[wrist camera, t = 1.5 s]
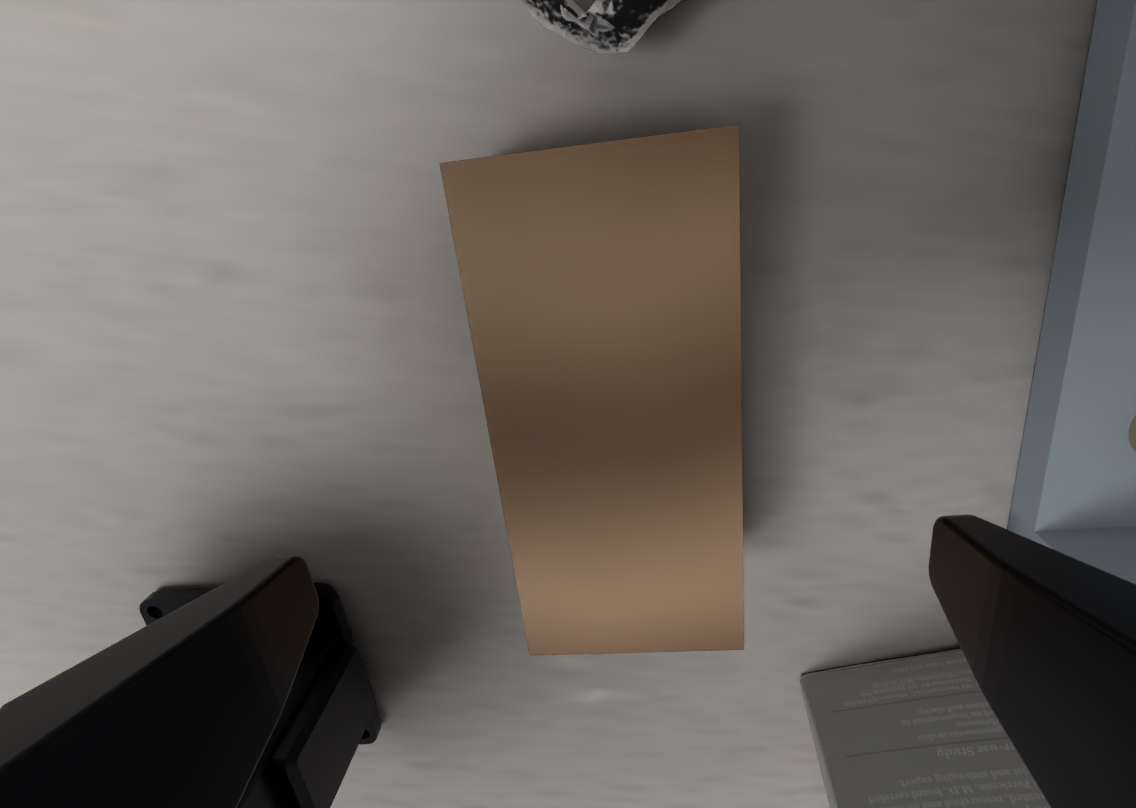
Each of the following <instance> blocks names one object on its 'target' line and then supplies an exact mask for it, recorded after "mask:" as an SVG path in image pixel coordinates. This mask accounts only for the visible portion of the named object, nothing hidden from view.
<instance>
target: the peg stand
mask: <svg viewBox="0 0 1136 808" xmlns="http://www.w3.org/2000/svg"><path fill="white" fill-rule="evenodd" d="M1007 530H1009V531H1012V532H1014V533H1016V534H1019V535H1021V536H1023V537H1026V538H1028V539H1030V540H1033V541H1035V542H1037V543H1040V544H1042V545H1045V546H1047V547H1049V548H1052V549H1054V550H1056V551H1059V552H1061V553H1063V554H1066V555H1068V556H1070V557H1073V558H1075V559H1078V560H1080V561H1082V562H1085V563H1087V564H1089V565H1092V566H1094V567H1096V568H1099V569H1101V570H1103V571H1106V572H1108V573H1111V574H1113V575H1115V576H1118V577H1120V578H1122V579H1125V580H1127V581H1129V582H1132V583H1134V584H1136V0H1098V1H1097V7H1096V13H1095V19H1094V24H1093V30H1092V36H1091V42H1090V48H1089V54H1088V60H1087V66H1086V71H1085V77H1084V83H1083V89H1082V95H1081V101H1080V107H1079V112H1078V118H1077V124H1076V130H1075V136H1074V142H1073V148H1072V154H1071V159H1070V165H1069V171H1068V177H1067V183H1066V189H1065V195H1064V200H1063V206H1062V212H1061V218H1060V224H1059V230H1058V236H1057V241H1056V247H1055V253H1054V259H1053V265H1052V271H1051V277H1050V283H1049V288H1048V294H1047V300H1046V306H1045V312H1044V318H1043V324H1042V329H1041V335H1040V341H1039V347H1038V353H1037V359H1036V365H1035V371H1034V376H1033V382H1032V388H1031V394H1030V400H1029V406H1028V412H1027V417H1026V423H1025V429H1024V435H1023V441H1022V447H1021V453H1020V458H1019V464H1018V470H1017V476H1016V482H1015V488H1014V494H1013V500H1012V505H1011V511H1010V517H1009V523H1008V529H1007Z"/></svg>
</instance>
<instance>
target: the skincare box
mask: <svg viewBox="0 0 1136 808" xmlns="http://www.w3.org/2000/svg"><path fill="white" fill-rule="evenodd" d="M800 683H801V688H802V692H803V697H804V701H805V705H806V709H807V714H808V718H809V722H810V726H811V730H812V735H813V739H814V743H815V747H816V751H817V755H818V759H819V763H820V768H821V772H822V776H823V780H824V784H825V788H826V793H827V797H828V801H829V805H830V808H1051V807H1050V806H1049V804H1048V802H1047V801H1046V799H1045V797H1044V796H1043V794H1042V792H1041V791H1040V789H1039V787H1038V786H1037V784H1036V782H1035V781H1034V779H1033V777H1032V776H1031V774H1030V772H1029V771H1028V769H1027V767H1026V766H1025V764H1024V762H1023V761H1022V759H1021V757H1020V756H1019V754H1018V752H1017V751H1016V749H1015V747H1014V746H1013V744H1012V742H1011V741H1010V739H1009V737H1008V736H1007V734H1006V732H1005V731H1004V729H1003V727H1002V726H1001V724H1000V722H999V721H998V719H997V717H996V716H995V714H994V712H993V711H992V709H991V707H990V705H989V704H988V702H987V700H986V698H985V697H984V695H983V693H982V691H981V689H980V687H979V685H978V683H977V681H976V679H975V677H974V675H973V673H972V671H971V669H970V667H969V665H968V662H967V660H966V658H965V656H964V654H963V652H962V649H956V650H950V651H944V652H938V653H932V654H926V655H920V656H913V657H907V658H900V659H893V660H886V661H879V662H874V663H868V664H859V665H854V666H848V667H842V668H836V669H830V670H826V671H820V672H815V673H810V674H805V675H803V676H802V677H801V679H800Z"/></svg>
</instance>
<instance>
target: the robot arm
mask: <svg viewBox="0 0 1136 808" xmlns="http://www.w3.org/2000/svg"><path fill="white" fill-rule="evenodd" d="M929 577H930V581H931V584H932V587H933V589H934V591H935V593H936V596H937V598H938V600H939V602H940V604H941V606H942V608H943V611H944V613H945V615H946V617H947V619H948V621H949V624H950V626H951V628H952V630H953V632H954V634H955V636H956V639H957V641H958V643H959V645H960V647H961V649H962V652H963V654H964V656H965V658H966V660H967V662H968V665H969V667H970V669H971V671H972V673H973V675H974V677H975V679H976V681H977V683H978V685H979V687H980V689H981V691H982V693H983V695H984V697H985V698H986V700H987V702H988V704H989V705H990V707H991V709H992V711H993V712H994V714H995V716H996V717H997V719H998V721H999V722H1000V724H1001V726H1002V727H1003V729H1004V731H1005V732H1006V734H1007V736H1008V737H1009V739H1010V741H1011V742H1012V744H1013V746H1014V747H1015V749H1016V751H1017V752H1018V754H1019V756H1020V757H1021V759H1022V761H1023V762H1024V764H1025V766H1026V767H1027V769H1028V771H1029V772H1030V774H1031V776H1032V777H1033V779H1034V781H1035V782H1036V784H1037V786H1038V787H1039V789H1040V791H1041V792H1042V794H1043V796H1044V797H1045V799H1046V801H1047V802H1048V804H1049V806H1050V807H1051V808H1136V584H1134V583H1132V582H1129V581H1127V580H1125V579H1122V578H1120V577H1118V576H1115V575H1113V574H1111V573H1108V572H1106V571H1103V570H1101V569H1099V568H1096V567H1094V566H1092V565H1089V564H1087V563H1085V562H1082V561H1080V560H1078V559H1075V558H1073V557H1070V556H1068V555H1066V554H1063V553H1061V552H1059V551H1056V550H1054V549H1052V548H1049V547H1047V546H1045V545H1042V544H1040V543H1037V542H1035V541H1033V540H1030V539H1028V538H1026V537H1023V536H1021V535H1019V534H1016V533H1014V532H1012V531H1009V530H1007V529H1004V528H1002V527H1000V526H997V525H995V524H993V523H990V522H988V521H986V520H983V519H981V518H978V517H976V516H973V515H953V516H941V517H939V518H938V519H937V520H936V521H935V523H934V527H933V534H932V542H931V551H930V560H929ZM319 599H320V600H322V601H323V602H320V601H319ZM140 612H141V615H142V617H143V619H144V621H145V623H146V625H147V626H146V627H144V628H142V629H140V630H139V631H137V632H135V633H133V634H131V635H130V636H128V637H126V638H124V639H122V640H121V641H119V642H117V643H115V644H113V645H111V646H110V647H108V648H106V649H104V650H102V651H101V652H99V653H97V654H95V655H93V656H92V657H90V658H88V659H86V660H84V661H82V662H81V663H79V664H77V665H75V666H73V667H72V668H70V669H68V670H66V671H64V672H62V673H61V674H59V675H57V676H55V677H53V678H52V679H50V680H48V681H46V682H44V683H43V684H41V685H39V686H37V687H35V688H33V689H32V690H30V691H28V692H26V693H24V694H23V695H21V696H19V697H17V698H15V699H13V700H12V701H10V702H8V703H6V704H4V705H3V706H2V707H1V709H0V808H330V807H331V805H332V802H333V800H334V798H335V796H336V794H337V791H338V789H339V787H340V785H341V782H342V780H343V778H344V776H345V773H346V771H347V769H348V767H349V764H350V762H351V760H352V758H353V756H354V753H355V751H356V749H357V747H358V744H370V743H373V742H374V741H375V740H376V738H377V736H378V734H379V731H380V729H381V722H380V719H379V716H378V713H377V710H376V707H375V706H376V702H375V699H374V696H373V693H372V690H371V687H370V684H369V681H368V678H367V675H366V672H365V669H364V666H363V663H362V660H361V657H360V654H359V651H358V649H357V648H356V646H355V644H354V641H353V638H352V635H351V632H350V629H349V626H348V623H347V620H346V617H345V614H344V611H343V608H342V605H341V602H340V599H339V596H338V594H337V592H336V591H335V590H334V589H333V588H332V587H331V586H329V585H326V584H323V583H313V581H312V578H311V575H310V572H309V569H308V566H307V564H306V561H305V560H304V559H303V558H302V557H301V556H299V555H286V556H275V557H271V558H269V559H267V560H266V561H264V562H262V563H260V564H258V565H257V566H255V567H253V568H251V569H249V570H248V571H246V572H244V573H242V574H240V575H238V576H237V577H235V578H233V579H231V580H229V581H228V582H226V583H224V584H222V585H220V586H219V587H217V588H212V589H192V590H173V591H157V592H153V593H152V594H151V595H150V596H149V597H147V598H146V599H145V600H144V601H143V602H142V603H141V604H140Z"/></svg>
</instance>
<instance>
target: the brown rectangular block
mask: <svg viewBox="0 0 1136 808" xmlns="http://www.w3.org/2000/svg"><path fill="white" fill-rule="evenodd" d="M440 168H441V174H442V179H443V185H444V190H445V196H446V201H447V207H448V212H449V217H450V223H451V228H452V234H453V239H454V245H455V250H456V256H457V261H458V267H459V272H460V278H461V283H462V289H463V294H464V299H465V305H466V310H467V316H468V321H469V327H470V332H471V338H472V343H473V349H474V354H475V360H476V365H477V371H478V376H479V381H480V387H481V392H482V398H483V403H484V409H485V414H486V420H487V425H488V431H489V436H490V442H491V447H492V452H493V458H494V463H495V469H496V474H497V480H498V485H499V491H500V496H501V502H502V507H503V513H504V518H505V524H506V529H507V534H508V540H509V545H510V551H511V556H512V562H513V567H514V573H515V578H516V584H517V589H518V595H519V600H520V606H521V611H522V616H523V622H524V627H525V633H526V638H527V644H528V649H529V655H566V654H603V653H640V652H677V651H714V650H744V588H743V488H742V388H741V289H740V189H739V125H731V126H723V127H715V128H708V129H700V130H692V131H684V132H677V133H669V134H661V135H653V136H646V137H638V138H630V139H622V140H615V141H607V142H599V143H591V144H584V145H576V146H568V147H560V148H553V149H545V150H537V151H529V152H522V153H514V154H506V155H498V156H491V157H483V158H475V159H468V160H460V161H452V162H444V163H440Z"/></svg>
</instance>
